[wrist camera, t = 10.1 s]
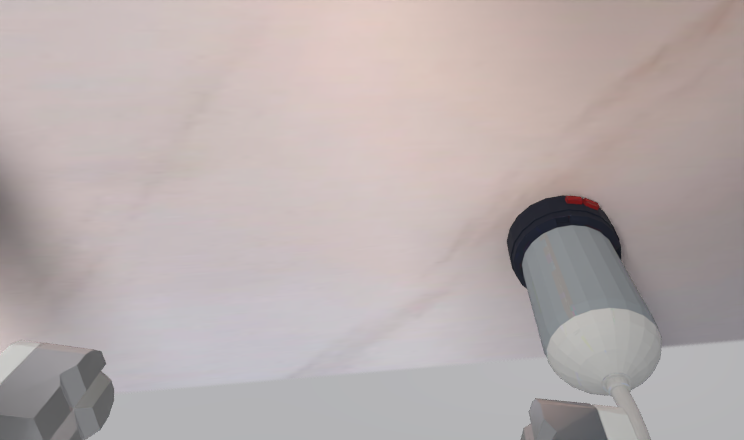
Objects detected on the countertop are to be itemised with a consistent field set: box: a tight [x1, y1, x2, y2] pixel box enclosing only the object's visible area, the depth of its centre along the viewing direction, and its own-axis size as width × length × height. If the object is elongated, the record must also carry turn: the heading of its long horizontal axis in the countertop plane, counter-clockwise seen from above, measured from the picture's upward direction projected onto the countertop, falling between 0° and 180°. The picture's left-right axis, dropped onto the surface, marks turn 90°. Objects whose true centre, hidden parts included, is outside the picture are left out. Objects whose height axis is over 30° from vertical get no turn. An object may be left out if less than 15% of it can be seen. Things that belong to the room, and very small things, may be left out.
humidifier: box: [507, 196, 661, 440], centre depth 30 cm, size 8×8×25 cm
